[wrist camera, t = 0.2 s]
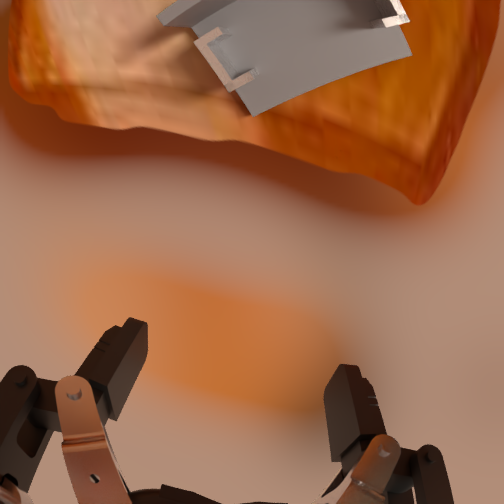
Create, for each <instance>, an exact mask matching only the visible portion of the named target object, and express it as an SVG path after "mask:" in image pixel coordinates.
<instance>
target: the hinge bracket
mask: <svg viewBox="0 0 504 504" xmlns="http://www.w3.org/2000/svg"><path fill="white" fill-rule="evenodd" d="M156 17H157V18H158V19H159V21H160V22H161V23H162V24H163V26H173V27H189V28H192V29H193V31H194V32H195V33H196V35H197V36H198V37H199V39H197V40H196V41H194V44H195V45H196V46H197V48H198V49H199V51H200V52H201V53H202V55H203V56H204V57H205V59H206V60H207V62H208V63H209V64H210V66H211V67H212V69H213V70H214V72H215V73H216V74H217V76H218V77H219V79H220V80H221V82H222V83H223V85H224V86H225V87H226V89H227V90H228V92H229V93H230V92H231V91H233V90H236V92H237V93H238V95H239V96H240V98H241V99H242V101H243V102H244V104H245V105H246V107H247V108H248V110H249V112H250V113H251V115H252V116H253V117H254V116H256V115H258V114H260V113H262V112H264V111H266V110H268V109H270V108H272V107H274V106H276V105H278V104H281V103H283V102H285V101H287V100H289V99H291V98H294V97H296V96H298V95H300V94H303V93H305V92H307V91H310V90H312V89H314V88H317V87H319V86H322V85H324V84H327V83H329V82H332V81H334V80H337V79H340V78H342V77H345V76H348V75H351V74H353V73H356V72H359V71H362V70H365V69H368V68H371V67H374V66H377V65H380V64H383V63H387V62H390V61H393V60H397V59H400V58H404V57H408V56H411V55H412V53H411V51H410V48H409V46H408V44H407V41H406V39H405V37H404V35H403V33H402V31H401V29H400V26H399V24H403V23H407V22H410V21H409V19H408V17H407V15H406V13H405V11H404V9H403V7H402V5H401V3H400V1H399V0H177V1H176V2H174V3H173V4H172V5H170V6H169V7H167V8H166V9H165V10H163V11H162V12H161V13H159V14H158V15H157V16H156Z"/></svg>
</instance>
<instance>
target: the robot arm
mask: <svg viewBox="0 0 504 504" xmlns="http://www.w3.org/2000/svg"><path fill="white" fill-rule="evenodd" d="M147 352H148V325H147V323H146V322H144V321H140V320H137V319H134V318H131V317H130V318H128V319H127V321H126V322H125V323H124V325H123V326H122V327H119V326H116V325H115V326H113V327H112V328H110V329H109V330H107V331H105V333H104V334H103V336H102V337H101V338H100V339H99V342H97V344H96V345H95V346H94V349H92V351H91V352H90V353H89V355H88V356H87V358H86V359H85V361H84V362H83V364H82V365H81V366H80V368H79V369H78V371H77V372H76V374H75V375H73V376H66V377H64V378H62V379H61V380H60V381H51V380H46V379H41V378H37V377H36V374H35V373H34V371H33V370H32V369H31V368H29V367H27V366H24V365H19V366H15V367H13V368H11V369H10V370H9V371H8V372H7V374H6V375H5V377H4V378H3V379H2V381H1V382H0V504H33V501H32V499H31V498H30V497H29V495H28V494H27V493H28V490H29V487H30V485H31V482H32V480H33V477H34V475H35V472H36V470H37V467H38V465H39V463H40V460H41V458H42V456H43V453H44V451H45V449H46V447H47V445H48V442H49V440H50V438H51V436H52V434H53V432H54V431H58V432H62V434H63V442H62V451H63V455H64V459H65V463H66V466H67V470H68V473H69V477H70V480H71V483H72V486H73V489H74V492H75V495H76V498H77V500H78V503H79V504H221V503H218V502H216V501H213V500H211V499H208V498H206V497H204V496H201V495H199V494H196V493H194V492H191V491H187V490H183V489H179V488H175V487H171V486H167V485H164V484H162V485H161V489H142V490H137V491H133V492H131V491H130V489H129V487H128V485H127V483H126V480H125V478H124V476H123V474H122V472H121V470H120V467H119V465H118V463H117V460H116V457H115V455H114V452H113V449H112V447H111V444H110V441H109V438H108V435H107V432H106V429H105V424H106V422H107V420H108V418H110V419H112V420H115V421H117V419H118V417H119V415H120V413H121V410H122V408H123V406H124V404H125V402H126V400H127V398H128V396H129V393H130V391H131V389H132V387H133V385H134V383H135V381H136V379H137V377H138V375H139V373H140V371H141V369H142V367H143V365H144V363H145V360H146V357H147ZM324 405H325V412H326V419H327V427H328V435H329V443H330V451H331V460H332V462H341V463H342V467H341V468H340V469H339V470H338V472H337V473H336V475H335V476H334V477H333V479H332V480H331V481H330V483H329V484H328V485H327V487H326V488H325V489H324V490H323V492H322V493H321V494H320V495H319V497H318V498H317V499H316V500H315V501H314V502H313V503H312V504H414V498H413V492H412V487H414V489H415V494H416V501H417V504H454V501H453V496H452V492H451V487H450V483H449V479H448V475H447V471H446V467H445V464H444V460H443V456H442V454H441V452H440V450H439V449H438V448H437V447H435V446H433V445H424V446H422V447H421V448H420V449H418V450H417V451H415V450H410V449H406V448H401V447H400V445H399V443H398V442H397V441H396V440H395V439H394V438H393V437H391V436H389V435H387V433H386V429H385V426H384V422H383V419H382V415H381V412H380V409H379V406H378V402H377V399H376V395H375V392H374V389H373V387H372V385H371V384H370V383H369V381H368V380H367V379H366V378H362V376H361V372H360V369H359V367H358V366H357V365H347V364H340V365H339V366H338V368H337V369H336V371H335V373H334V374H333V376H332V378H331V379H330V381H329V383H328V384H327V386H326V388H325V391H324ZM242 504H288V503H268V502H253V503H242Z"/></svg>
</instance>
